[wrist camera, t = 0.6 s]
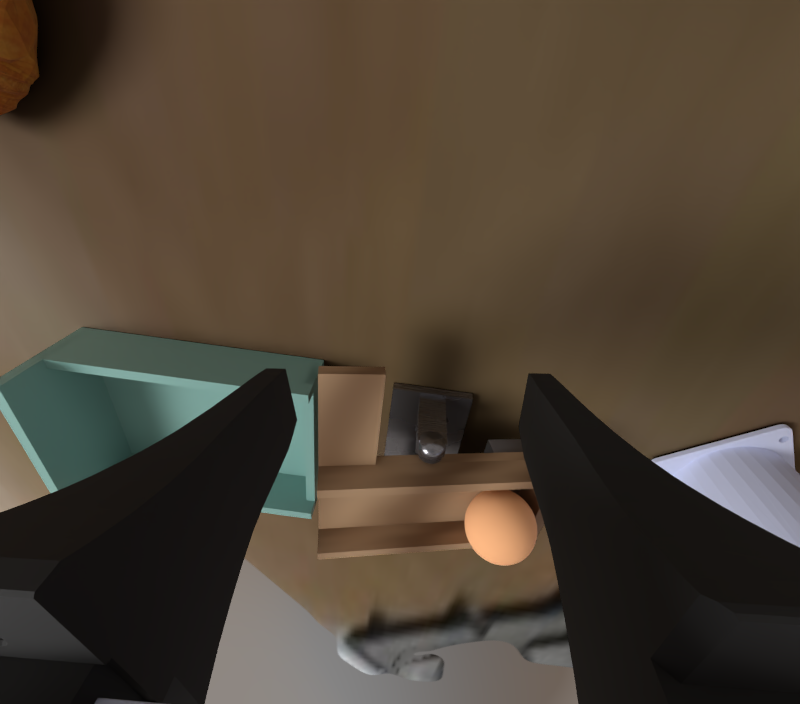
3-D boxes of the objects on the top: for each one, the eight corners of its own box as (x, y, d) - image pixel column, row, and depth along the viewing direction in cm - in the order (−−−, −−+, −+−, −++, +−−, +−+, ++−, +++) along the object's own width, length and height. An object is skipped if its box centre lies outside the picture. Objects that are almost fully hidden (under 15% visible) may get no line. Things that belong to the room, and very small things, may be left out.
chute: (563, 352, 21) (608, 403, 17) (505, 494, 27) (529, 552, 24) (320, 346, 18) (315, 404, 15) (320, 503, 25) (317, 568, 22)
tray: (324, 360, 24) (294, 427, 19) (323, 478, 30) (300, 553, 25) (81, 327, 24) (-15, 385, 19) (130, 452, 30) (67, 522, 25)
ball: (532, 500, 24) (558, 565, 20) (474, 522, 25) (489, 587, 21) (510, 464, 22) (534, 529, 18) (447, 489, 23) (460, 555, 19)
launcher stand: (472, 393, 24) (480, 455, 20) (446, 486, 29) (448, 553, 25) (394, 382, 24) (385, 442, 20) (381, 477, 29) (372, 542, 25)
